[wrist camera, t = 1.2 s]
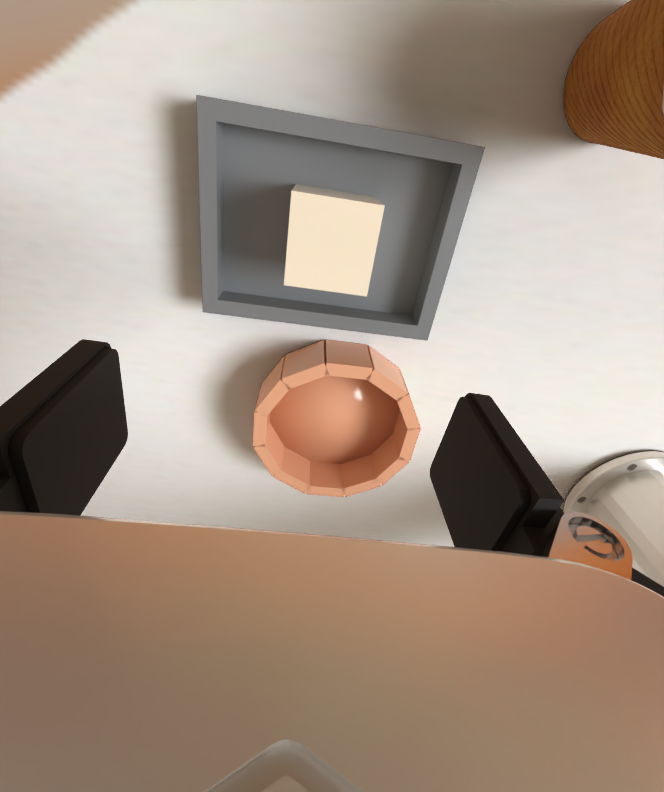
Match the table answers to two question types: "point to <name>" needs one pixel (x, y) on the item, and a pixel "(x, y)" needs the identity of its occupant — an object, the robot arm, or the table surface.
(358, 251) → the cream beige cube
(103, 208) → the table surface
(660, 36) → the disposable coffee cup
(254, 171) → the parts tray
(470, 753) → the robot arm
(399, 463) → the bowl
